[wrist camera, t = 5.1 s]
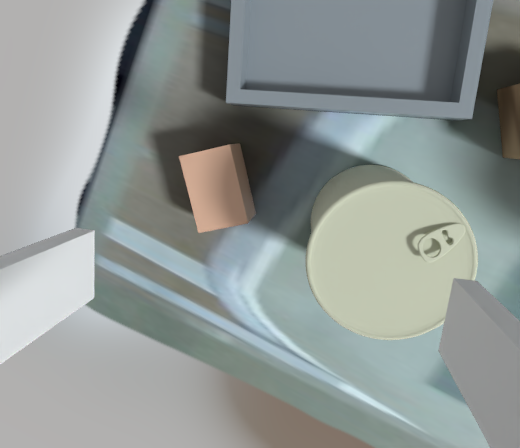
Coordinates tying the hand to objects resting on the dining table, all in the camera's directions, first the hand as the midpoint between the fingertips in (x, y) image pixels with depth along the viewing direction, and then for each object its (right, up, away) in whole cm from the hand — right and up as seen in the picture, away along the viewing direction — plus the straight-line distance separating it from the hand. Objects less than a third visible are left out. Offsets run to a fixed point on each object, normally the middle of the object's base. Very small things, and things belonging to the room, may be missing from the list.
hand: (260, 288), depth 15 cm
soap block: (-3, +6, +20) cm, 21 cm away
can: (+9, +3, +19) cm, 21 cm away
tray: (+7, +17, +16) cm, 25 cm away
